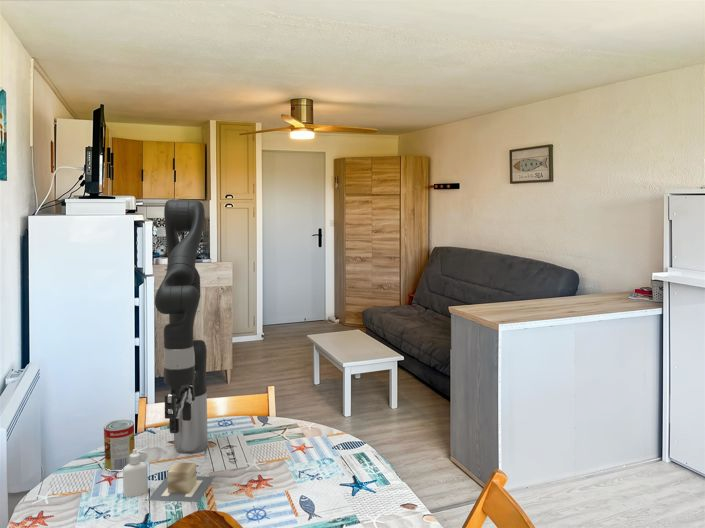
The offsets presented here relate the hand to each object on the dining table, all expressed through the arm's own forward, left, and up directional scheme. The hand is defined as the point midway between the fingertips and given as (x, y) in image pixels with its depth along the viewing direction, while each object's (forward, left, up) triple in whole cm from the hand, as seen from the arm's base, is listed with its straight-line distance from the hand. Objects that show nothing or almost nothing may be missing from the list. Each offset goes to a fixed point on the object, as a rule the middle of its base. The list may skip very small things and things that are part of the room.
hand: (181, 426), depth 139 cm
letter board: (0, 0, -17) cm, 17 cm away
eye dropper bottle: (-8, -8, -17) cm, 21 cm away
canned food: (-26, 0, -17) cm, 31 cm away
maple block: (0, 0, -16) cm, 16 cm away
